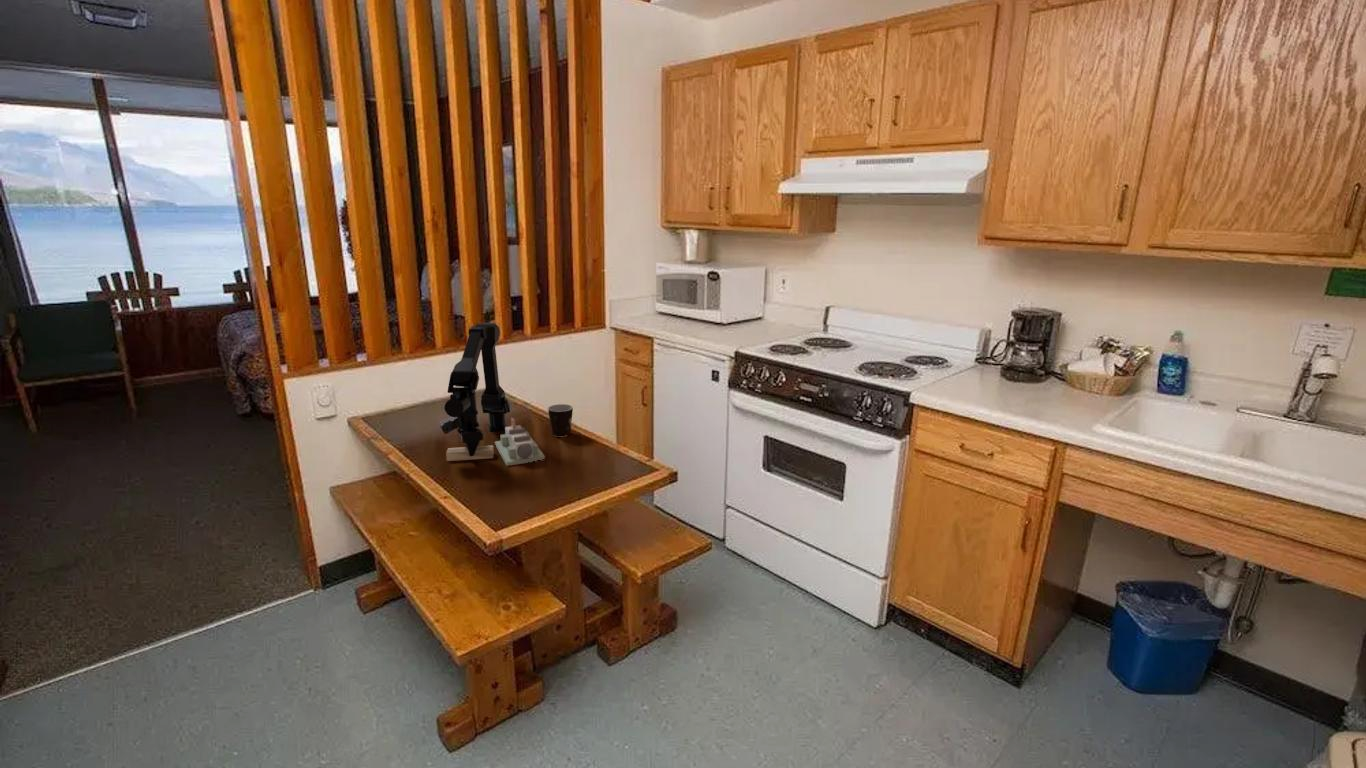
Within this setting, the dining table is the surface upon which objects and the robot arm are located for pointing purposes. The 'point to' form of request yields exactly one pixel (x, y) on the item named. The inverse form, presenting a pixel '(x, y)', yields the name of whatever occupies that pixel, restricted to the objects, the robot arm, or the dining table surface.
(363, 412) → the dining table surface
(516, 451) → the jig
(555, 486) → the dining table surface
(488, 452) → the tan rectangular block
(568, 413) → the coffee mug
